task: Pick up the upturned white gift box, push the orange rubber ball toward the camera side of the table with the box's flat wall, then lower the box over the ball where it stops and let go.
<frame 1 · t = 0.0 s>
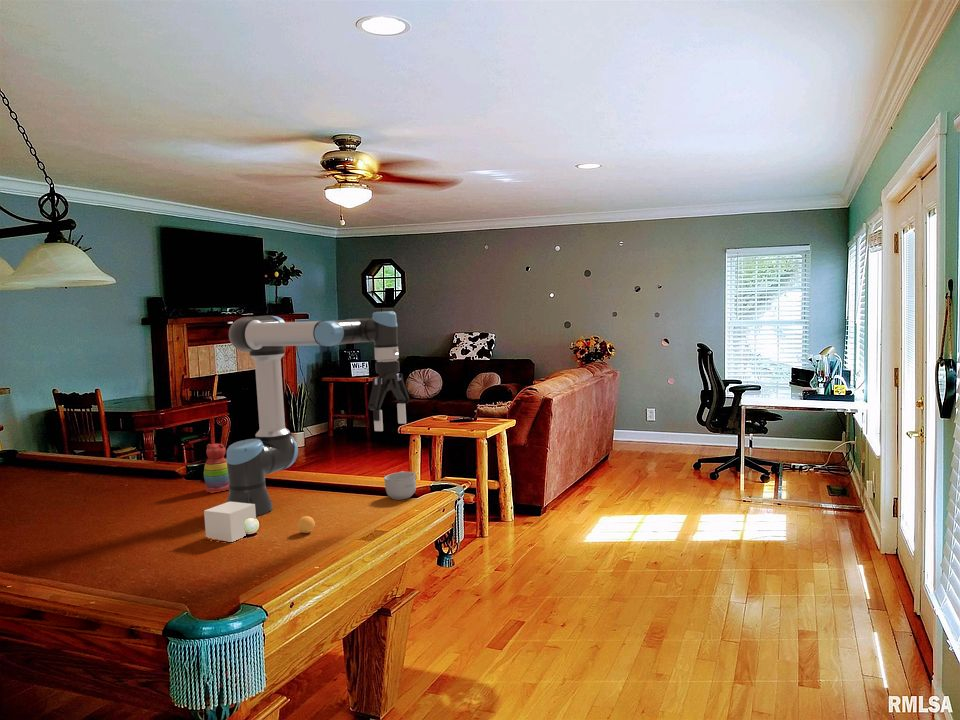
hand: (390, 427, 234), 28 cm above the table, tool pointing down, fingers open, 13 cm apart
stacking bear: (218, 490, 277), on the table
white gift box: (231, 536, 220), on the table
teacup: (402, 496, 257), on the table
ball: (306, 524, 220), on the table
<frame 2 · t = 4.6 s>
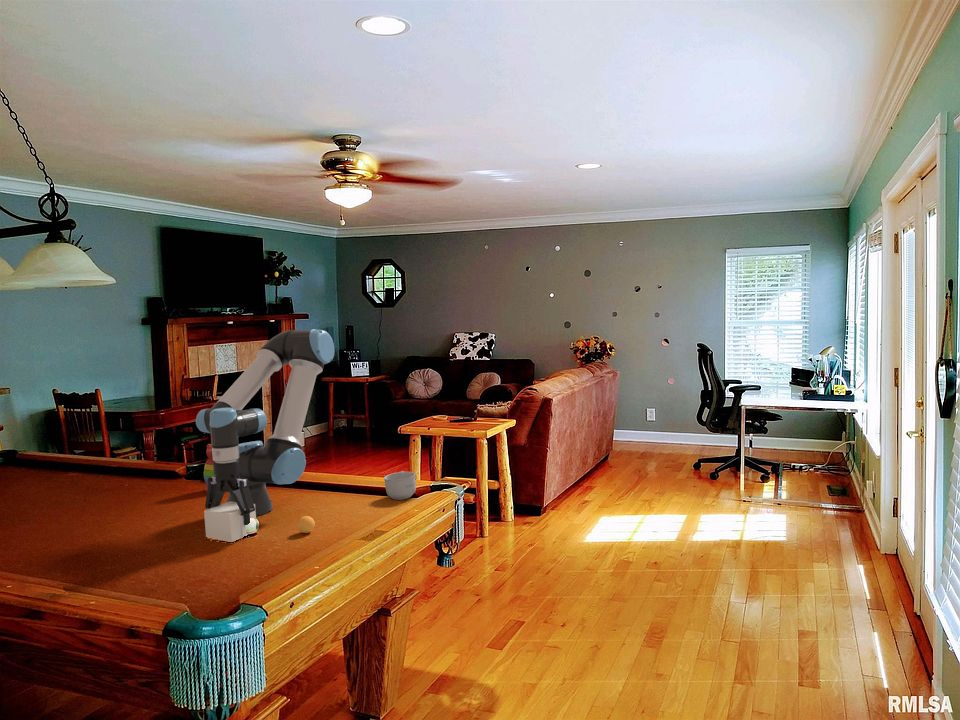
hand: (231, 533, 220), 1 cm above the table, tool pointing down, fingers closed on white gift box, 10 cm apart
white gift box: (231, 536, 220), on the table, touching gripper
everything else where it was.
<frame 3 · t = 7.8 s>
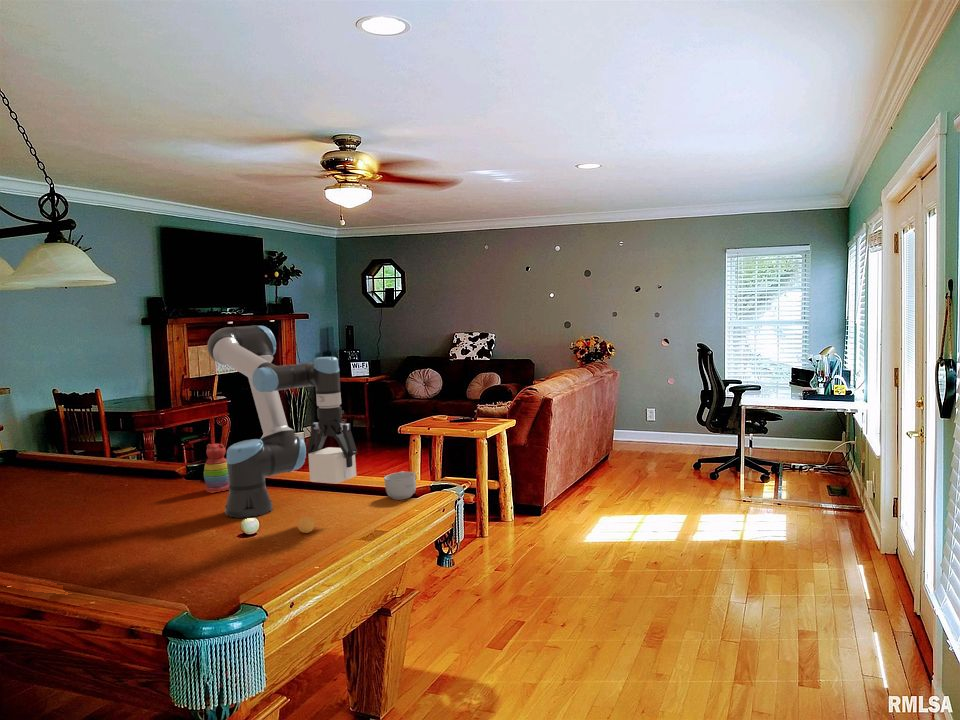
hand: (333, 476, 232), 14 cm above the table, tool pointing down, fingers closed on white gift box, 10 cm apart
white gift box: (333, 478, 232), point 13 cm above the table, touching gripper
everything else where it was.
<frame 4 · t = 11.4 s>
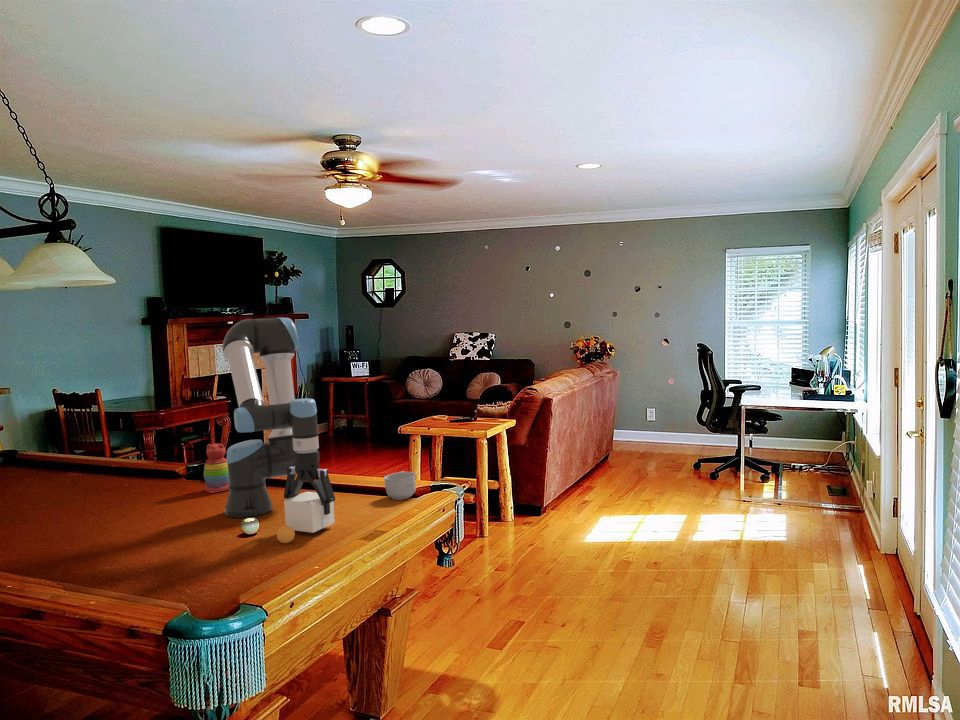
hand: (310, 523, 222), 2 cm above the table, tool pointing down, fingers closed on white gift box, 10 cm apart
white gift box: (310, 525, 222), point 1 cm above the table, touching gripper
ball: (285, 534, 211), on the table
everything else where it was.
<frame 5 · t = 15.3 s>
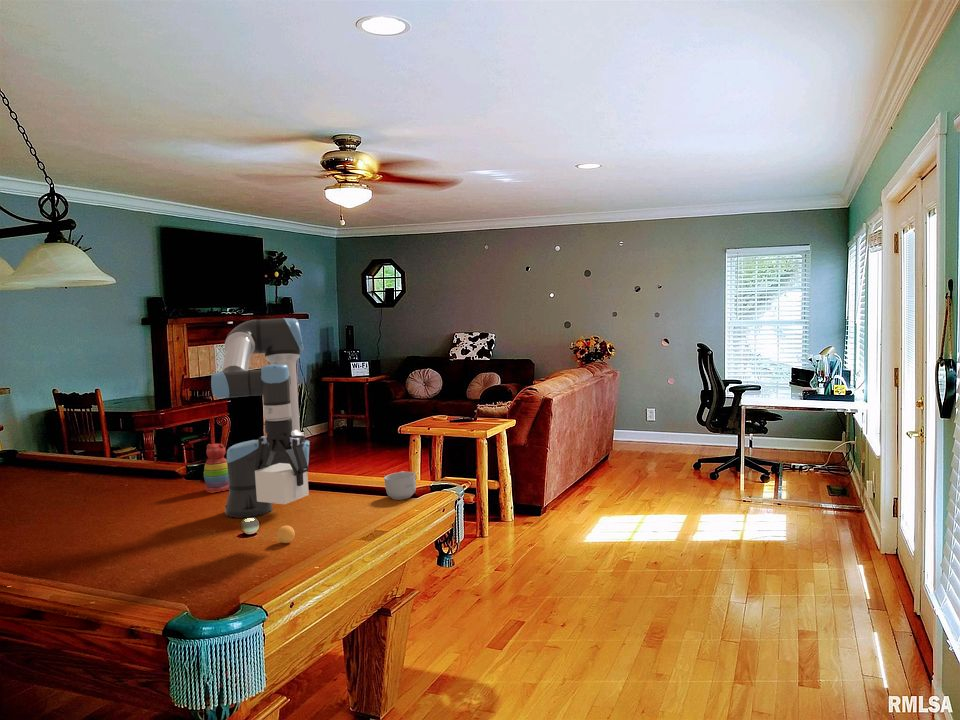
hand: (283, 495, 211), 14 cm above the table, tool pointing down, fingers closed on white gift box, 10 cm apart
white gift box: (283, 498, 211), point 13 cm above the table, touching gripper
everything else where it was.
when the fingers open (1 cm above the table, at t = 18.9 s): white gift box stays where it is, on the table.
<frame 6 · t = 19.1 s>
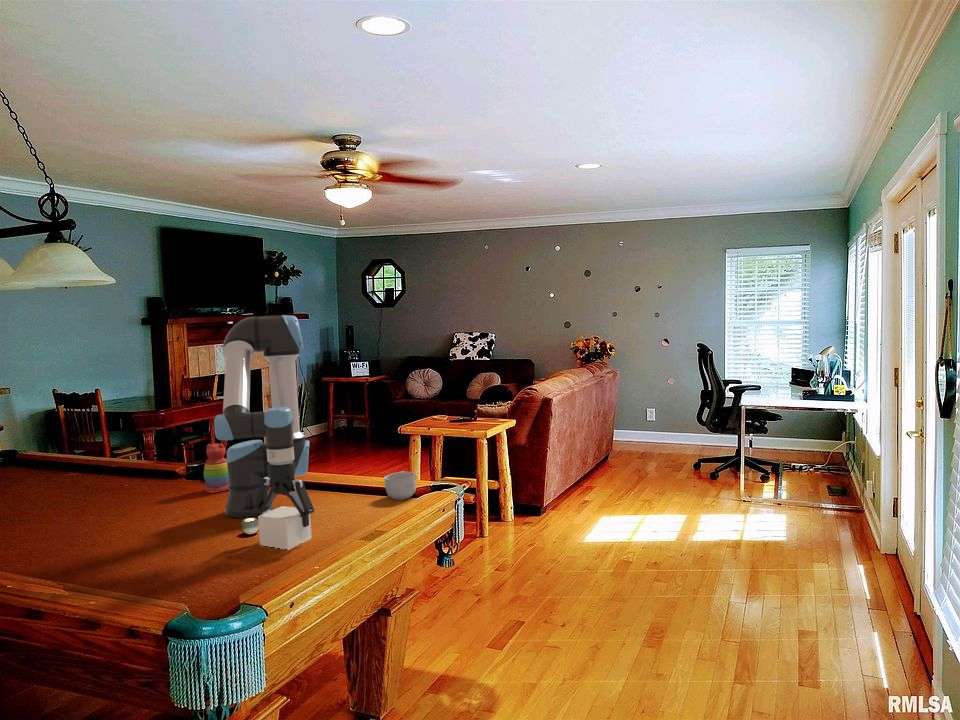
hand: (286, 535, 212), 2 cm above the table, tool pointing down, fingers open, 12 cm apart
white gift box: (286, 542, 212), on the table
everything else where it was.
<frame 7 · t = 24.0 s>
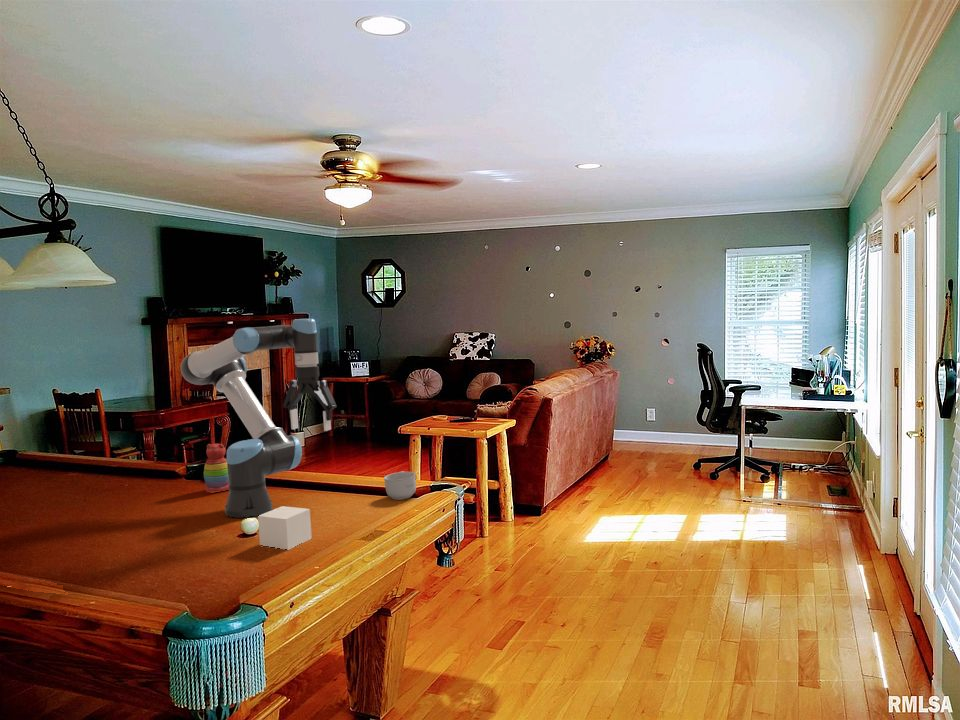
hand: (311, 429, 244), 27 cm above the table, tool pointing down, fingers open, 13 cm apart
nothing on the table moved.
at the end: ball 0.5 cm from the white gift box (horizontally); white gift box on the table; ball moved 9.5 cm from its start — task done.
